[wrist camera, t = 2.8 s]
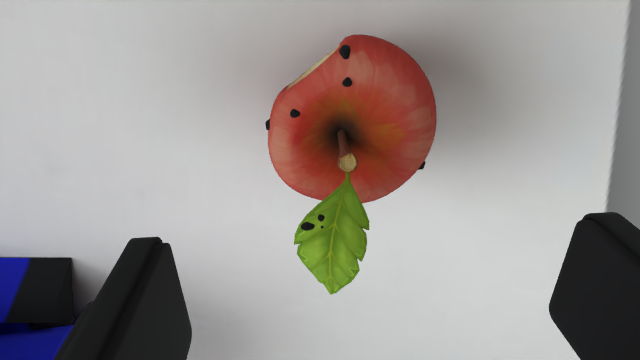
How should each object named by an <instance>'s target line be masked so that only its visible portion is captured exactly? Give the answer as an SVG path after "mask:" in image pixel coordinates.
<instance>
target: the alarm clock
mask: <svg viewBox="0 0 640 360" xmlns="http://www.w3.org/2000/svg"><path fill="white" fill-rule="evenodd" d="M70 321H74V320H73V294H72V269H71V258H0V360H53V359H54V358H55V356H56V354H57V353H58V351H59V349H60V348H61V346H62V344H63V343H64V341H65V339H66V338H67V336H68V334H69V333H70V331H71V329H72V328H73V326H74V325H68V326H60V327H53V328H45V329H37V330H31V329H30V327H29V325H28V324H27V323H53V322H70Z"/></svg>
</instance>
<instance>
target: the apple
mask: <svg viewBox="0 0 640 360" xmlns="http://www.w3.org/2000/svg"><path fill="white" fill-rule="evenodd" d="M265 124H266V129H267V130H268V147H269V154H270V158H271V161H272V164H273V166H274V168H275V170H276V172H277V173H278V175H279V176H280V178H281V179H282V180H283V181H284V182H285V183H286V184H287V185H288V186H289V187H291V188H292V189H294V190H295V191H297V192H299V193H301V194H303V195H305V196H308V197H311V198H315V199H318V200H323V201H322V202H320V203H319V204H318V205H317V206H316V207H315V208H314V209H313V210H311V211H310V212H309V213H308V214H307V215H306V217H305V218H304V219H303V221H302V222H301V223H300V225H299V227H298V229H297V231H296V233H295V240H294V244H300V245H299V246H298V250H297V254H298V256H299V258H300V259H301V261H302V262H303V263H304V265H305V266H306V267H307V268H308V269H309V270H310V271H311V272H312V274H313V275H314V276H315V277H316V278H317V280H318V281H319V282H320V283H322V284H324V285H325V287H326V288H327V290H328V291H329V293H330V294H334V293H336V292H338V291H339V290H340V289H341V288H343V287H344V286H346V285H347V284H349V283H350V282H351V281H352V280H353V279H354V278H355V276H356V275H357V273H358V272H359V266H358V261H357V259H359V260H360V261H361V262H362V259H363V257H364V254H365V252H366V245H367V238H366V233H365V232H364V230H363V229H362V228H364V229H366V230H369V220H368V217H367V214H366V212H365V209H364V207H363V205H362V203H366V202H370V201H374V200H377V199H379V198H382V197H384V196H386V195H388V194H389V193H391V192H393V191H394V190H396V189H397V188H399V187H400V186H401V185H402V184H404V183H405V182H406V181H407V180H408V179H410V178H411V177H412V175H413V174H414V173H415V172H416V171H417V170H419V169H423V168H424V165H425V161H424V160H425V158H426V157H427V155H428V153H429V151H430V148H431V146H432V143H433V140H434V136H435V130H436V105H435V99H434V95H433V91H432V88H431V85H430V83H429V81H428V79H427V77H426V75H425V73H424V72H423V70H422V69H421V67H420V66H419V65H418V64H417V62H416V61H415V60H414V59H413V58H412V57H411V56H410V55H408V54H407V53H406V52H405V51H403V50H402V49H401V48H399V47H398V46H396V45H394V44H392V43H390V42H388V41H385V40H382V39H380V38H376V37H373V36H368V35H351V36H348V37H345V38H344V40H343V41H342V42H341V43H340V44H339V45H338V46H337V47H336V48H335V49H334V50H333V51H332V52H330V53H329V54H327V55H326V56H324V57H323V58H322V59H320V60H319V61H318V62H317V63H316V64H314V65H313V66H312V67H311V68H310V69H308V70H307V71H306V72H305V73H303V74H302V75H301V76H300V77H299V78H298V79H296V80H295V81H294V82H293V83H291V84H289V85H288V86H286V87H285V88H284V89H283V90H282V91H281V92H280V93H279V94H278V96H277V98H276V100H275V102H274V104H273V107H272V111H271V115H270V119H269V120H267V121H266V123H265Z"/></svg>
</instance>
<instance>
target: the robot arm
mask: <svg viewBox="0 0 640 360" xmlns="http://www.w3.org/2000/svg"><path fill="white" fill-rule="evenodd" d="M549 312H550V315H551V318H552V320H553V321H554V323H555V324H556V326H557V327H558V328H559V330H560V331H561V333H562V334H563V335H564V337H565V338H566V340H567V341H568V342H569V344H570V345H571V347H572V348H573V349H574V351H575V352H576V354H577V355H578V356H579V358H580V359H581V360H640V230H639V229H638V228H636V227H635V226H634V225H633V224H632V223H630V222H629V221H628V220H627V219H625V218H624V217H623V216H621V215H620V214H618V213H614V212H607V213H590V214H587V215H585V216H584V217H583V219H582V220H581V221H579V222H578V223H577V224H576V226H575V229H574V232H573V235H572V238H571V241H570V244H569V247H568V250H567V253H566V256H565V259H564V262H563V265H562V268H561V271H560V274H559V277H558V280H557V283H556V285H555V288H554V291H553V294H552V297H551V300H550V303H549ZM191 337H192V329H191V324H190V320H189V316H188V312H187V308H186V304H185V300H184V296H183V293H182V289H181V285H180V281H179V277H178V273H177V269H176V265H175V261H174V257H173V254H172V250H171V246H170V244H169V243H162V240H161V239H160V238H159V237H147V238H133V239H131V240H130V241H129V242H128V244H127V246H126V247H125V249H124V251H123V252H122V254H121V256H120V258H119V259H118V261H117V263H116V264H115V266H114V268H113V270H112V271H111V273H110V275H109V276H108V278H107V280H106V282H105V283H104V285H103V287H102V288H101V290H100V292H99V294H98V295H97V297H96V299H95V301H92V302H90V303H89V304H87V306H86V307H85V308H84V310H83V311H82V313H81V314H80V316H79V318H78V319H77V321H76V323H75V324H74V326H73V328H72V329H71V331H70V333H69V334H68V336H67V338H66V339H65V341H64V343H63V344H62V346H61V348H60V349H59V351H58V353H57V354H56V356H55V358H54V359H53V360H186V359H187V355H188V351H189V347H190V344H191Z"/></svg>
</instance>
